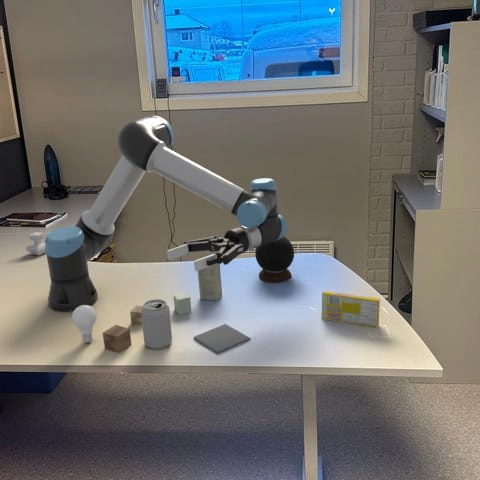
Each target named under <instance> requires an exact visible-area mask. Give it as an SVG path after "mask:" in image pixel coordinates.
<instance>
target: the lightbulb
mask: <svg viewBox="0 0 480 480" xmlns="http://www.w3.org/2000/svg"><path fill="white" fill-rule="evenodd" d="M71 319H72V323H74V326H76V327H77V328H78V329H79V332H80V333H81V337H82V342H83V343H86V344H88V343H91V342H92V341H93V340H94V338H93V328H94V325H95V323H96V322H97V313H96V310H95V308H94V307H92V305H91V306H89V305H81V306H79V307H77V308H76V309H75V310H74V311H72V314H71Z"/></svg>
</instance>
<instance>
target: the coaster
mask: <svg viewBox="0 0 480 480" xmlns="http://www.w3.org/2000/svg"><path fill="white" fill-rule="evenodd" d="M193 340H195V341H196V342H198V343H200V344H201V345H203V346H204V347H206V348H207V349H209V350H211V351H213V352H214V353H215V354H217V355H219V354H222V353H223V352H226V351H228V350H230V349H233V348H235V347H238V346H239V344H240V345H242V344H244V343H246V342H248V340H249V341H250V340H251V337H249V336H247V335H246V334H245V333H242V332H240V331H239V330H237V329H236V328H233V327H232V326H230V325H229V324H227V323H224V324H221V325H219V326H217V327H215V328H212V329H209V330H207V331H205V332H202V333H199V334H197V335H195V336H193Z"/></svg>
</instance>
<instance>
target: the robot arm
mask: <svg viewBox="0 0 480 480" xmlns="http://www.w3.org/2000/svg"><path fill="white" fill-rule="evenodd" d="M174 140H175V136H174V131H173V128H172V126H171V124H170V123H169V122H168V121H167V120H166V119H165V118H163V117H161V116H158V115H148V116H145V117H143V118H140V119H135V120H134V121H133V120H132V121H130V122H128V123H127V124H125V125H123V126H122V128H121V129H120V131H119V133H118V137H117V144H118V145H117V147H118V149H119V152H120V153H121V157H120V158H119V160H118V162H117V164H116V166H115V167H114V169H113V170H112V172H111V174H110V176H109V177H108V178H107V181H106V183H105V184H104V185H103V187H102V189H101V191H100V193H99V194H98V196H97V198H96V199H95V201H94V202H93V204H92V206H91V208H90V210H89V209H88V210H85V211H83V212H82V214H81V216H80V217H79V218H78V221H76V223H75V225H74V226H72V225H71V226H69V225H67V226H62V227H60V228H56V229H53V230H52V231H50V232H49V233H48V234H47V235H46V236H45V239H44V243H45V251H46V259H47V264H48V266H47V267H48V270H49V271H48V272H49V277H50V286H49V291H48V295H47V296H48V297H47V303H48V307H49V308H50V310H53V311H55V312H56V311H57V312H74V310H75V309H76V308H77V307H79V306H81V305H89V306H91V307H92V306H93V305H94V304H95V303H96V302H97V300H98V299H99V298H98V291H97V289H96V287H95V285H94V282H93V281H92V279H91V277H90V273H89V265H88V262H90V260H91V259H93V258H94V257H96V256H97V255H99V254H101V253H102V252H103V251H104V250H106V249H107V248H108V247H109V245H110V244H111V242H112V240H113V235H114V232H115V228H116V227H115V224H114V223H115V222H116V220H117V218H118V217H119V215H120V213H121V212H122V210H123V209H124V207H125V205H126V204H127V203H128V200H129V199H130V197H132V195H133V192H134V191H135V189H136V188H137V186H138V185H139V183H140V181H141V180H142V178H143V176H144V175H145V173H155V174H158V175H159V176H161V177H164V178H165V179H167V180H169V181H171V182H172V183H175V184H176V185H178V186H180V187H181V188H184V189H186V190H187V191H189V192H191V193H193V194H195V195H197V196H198V197H200V198H202V199H204V200H206V201H208V202H209V203H211V204H213V205H215V206H217V207H219V208H220V209H222V210H224V211H225V212H228V213H230V214H231V215H233V216H235V217H236V218H237V221H238V222H239V224H240V226H238V227H235V228H232V229H228V230H227V231H226V232H225V234H224V237H217V235H212V236H209V237H203V238H202V237H201V238H198V239H190V240H184V241H183V245H179V246H177V247H174V248H171V249H167V250H166V254H167V260H169V261H172V260H174V259H178V258H180V257H182V256H185V255H189V254H190V253H195V252H205V251H209V252H212V253H213V252H216V254H215V253H213V254H210V255H208V256H207V255H206V256H204V257H201V258H198V259H195V260H193V267H194V271H195V272H198V271H199V270H201V269H204V268H207V267H209V266H212V265H215V264H217V263H218V264H220V265H221V264H223V265H224V266H226V265H228V264H230V263H231V262H232V261H234V260H235V258H237V257H238V256H239V255H242V254H243V253H245V252H248V251H253V250H254V249H256V247H259V246H262V245H265V244H268V243H271V242H275V241H277V240H279V239H281V238H283V237H285V236H286V235H287V233H288V224H287V222H286V219H285V218H284V216H283V215H280V214H279V210H278V200H277V199H278V196H277V187H276V181H275V179H272V178H269V177H266V178H265V177H264V178H257V179H254V180H251V182H250V184H249V186H250V187H249V191H250V192H249V191H247V190H245V189H244V188H242V187H240V186H238V185H236V184H234V183H233V182H231V181H229V180H227V179H226V178H223V177H222V176H220V175H218V174H216V173H214V172H212V171H210V170H209V169H207V168H205V167H203V166H201V165H200V164H198V163H196V162H194V161H192V160H190V159H188V158H187V157H185V156H182V155H181V154H179V153H177V152H175V151H173V150H172V149H170V148H171V147H172V146H173V144H174Z"/></svg>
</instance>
